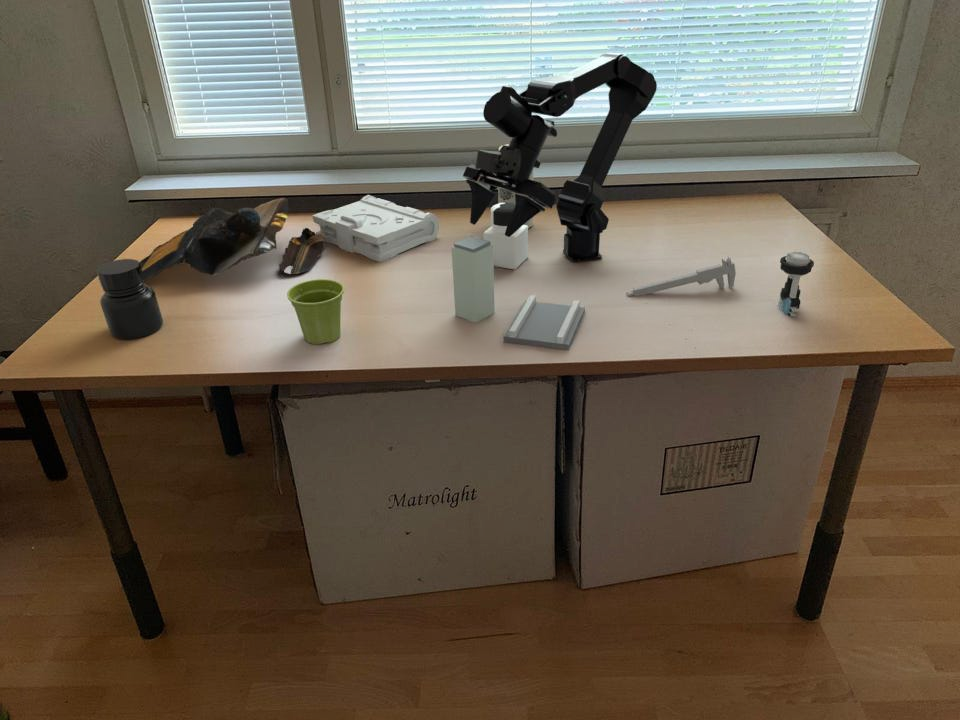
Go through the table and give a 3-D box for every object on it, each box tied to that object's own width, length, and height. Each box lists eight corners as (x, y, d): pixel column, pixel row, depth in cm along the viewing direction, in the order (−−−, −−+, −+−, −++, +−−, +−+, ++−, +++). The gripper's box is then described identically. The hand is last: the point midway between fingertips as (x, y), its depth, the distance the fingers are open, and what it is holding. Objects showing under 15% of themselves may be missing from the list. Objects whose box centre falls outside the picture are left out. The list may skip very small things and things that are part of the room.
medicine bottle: (528, 257, 150) (528, 201, 144) (515, 270, 144) (515, 213, 138) (497, 252, 153) (496, 198, 146) (483, 265, 147) (482, 209, 141)
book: (364, 214, 178) (360, 184, 174) (443, 239, 161) (440, 206, 157) (300, 237, 166) (294, 206, 162) (378, 267, 150) (373, 232, 146)
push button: (809, 319, 122) (821, 265, 117) (776, 318, 123) (787, 264, 118) (798, 302, 128) (810, 250, 123) (768, 301, 128) (778, 249, 123)
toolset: (111, 300, 135) (100, 186, 145) (156, 341, 154) (144, 237, 163) (318, 249, 139) (293, 141, 149) (338, 295, 157) (315, 196, 167)
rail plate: (525, 305, 130) (525, 294, 129) (584, 312, 127) (585, 301, 126) (503, 341, 119) (503, 330, 118) (568, 350, 116) (568, 338, 115)
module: (473, 305, 131) (470, 235, 124) (494, 312, 128) (492, 241, 121) (455, 315, 128) (451, 243, 121) (476, 323, 125) (473, 250, 118)
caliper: (730, 286, 135) (735, 255, 132) (733, 289, 134) (738, 258, 131) (625, 295, 133) (628, 264, 130) (627, 298, 132) (630, 266, 129)
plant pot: (361, 329, 124) (355, 283, 120) (330, 354, 117) (322, 306, 113) (316, 320, 128) (309, 275, 123) (283, 344, 120) (274, 297, 116)
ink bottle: (160, 312, 133) (143, 252, 126) (171, 330, 126) (153, 268, 120) (104, 326, 128) (83, 265, 122) (112, 346, 122) (90, 282, 116)
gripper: (461, 120, 127) (426, 202, 129) (536, 137, 115) (497, 226, 116) (498, 147, 136) (466, 223, 137) (572, 165, 123) (536, 248, 125)
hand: (489, 229), depth 129 cm, fingers open, 9 cm apart
